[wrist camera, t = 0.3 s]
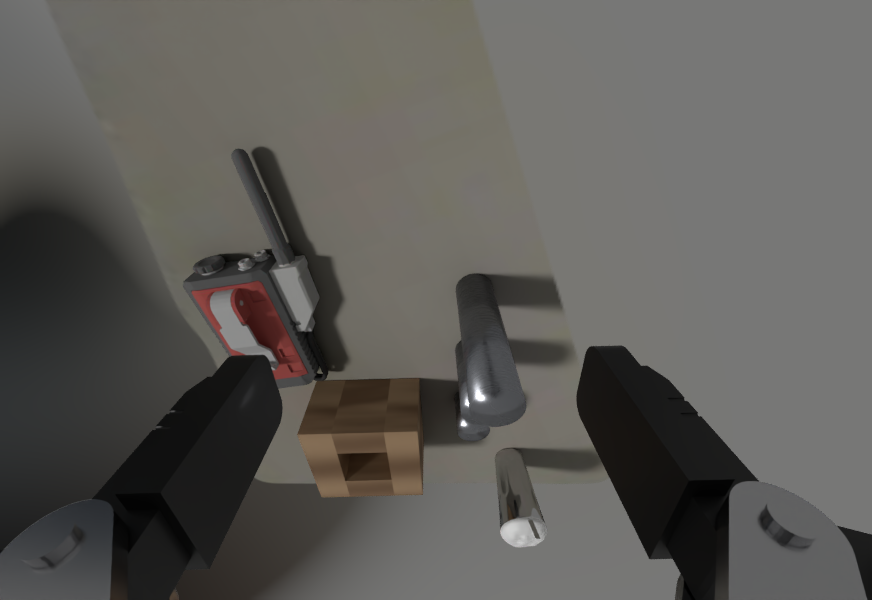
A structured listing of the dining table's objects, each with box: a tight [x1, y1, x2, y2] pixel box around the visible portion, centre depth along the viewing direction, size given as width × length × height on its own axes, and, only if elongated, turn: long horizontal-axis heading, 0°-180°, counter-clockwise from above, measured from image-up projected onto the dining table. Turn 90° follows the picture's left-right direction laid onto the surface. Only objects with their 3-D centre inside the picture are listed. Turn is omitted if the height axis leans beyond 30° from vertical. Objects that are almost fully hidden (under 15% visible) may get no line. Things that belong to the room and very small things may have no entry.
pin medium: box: [455, 340, 481, 425], centre depth 29 cm, size 3×3×7 cm
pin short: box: [455, 391, 490, 441], centre depth 34 cm, size 3×3×4 cm
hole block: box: [297, 378, 424, 497], centre depth 34 cm, size 10×10×6 cm
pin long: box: [456, 274, 526, 427], centre depth 23 cm, size 3×3×12 cm
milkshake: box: [495, 448, 547, 547], centre depth 37 cm, size 4×5×10 cm
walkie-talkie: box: [183, 149, 328, 388], centre depth 27 cm, size 9×4×20 cm
